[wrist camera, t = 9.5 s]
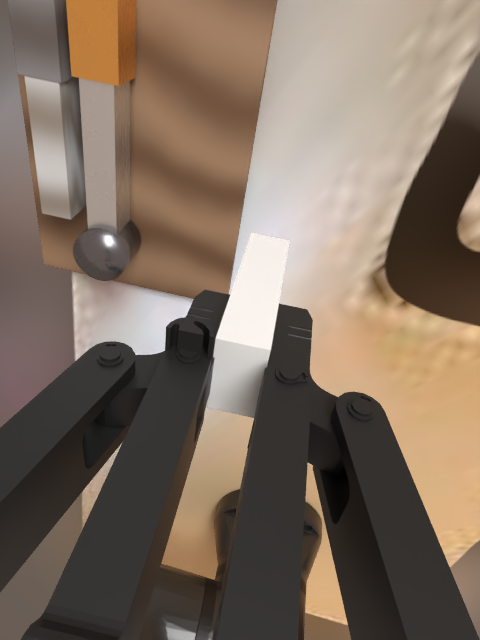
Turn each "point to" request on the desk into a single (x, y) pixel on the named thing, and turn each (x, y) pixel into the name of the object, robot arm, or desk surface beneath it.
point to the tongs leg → (105, 130)
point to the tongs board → (153, 133)
